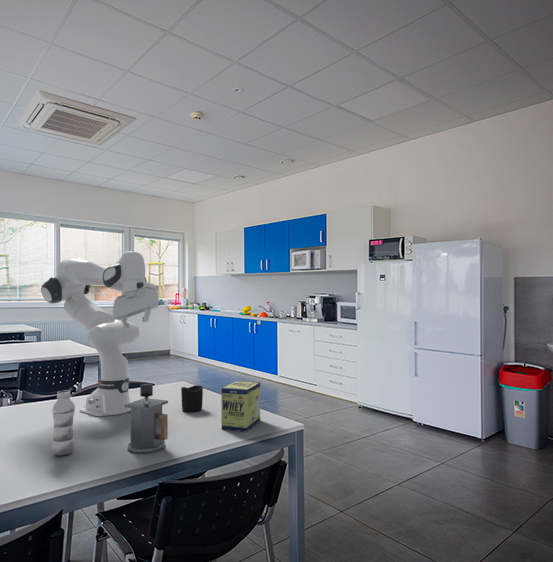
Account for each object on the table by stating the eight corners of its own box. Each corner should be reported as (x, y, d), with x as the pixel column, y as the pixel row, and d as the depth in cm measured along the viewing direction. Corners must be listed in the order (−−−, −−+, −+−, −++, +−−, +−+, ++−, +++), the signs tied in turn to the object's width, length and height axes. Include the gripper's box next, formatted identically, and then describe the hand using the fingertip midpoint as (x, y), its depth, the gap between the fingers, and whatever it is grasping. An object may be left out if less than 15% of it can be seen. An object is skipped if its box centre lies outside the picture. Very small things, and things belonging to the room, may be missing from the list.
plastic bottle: (56, 451, 141) (56, 389, 142) (77, 450, 142) (78, 389, 142) (47, 458, 134) (48, 394, 135) (69, 457, 135) (70, 393, 136)
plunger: (129, 442, 142) (129, 386, 143) (145, 435, 149) (145, 381, 150) (147, 445, 139) (147, 388, 140) (162, 438, 146) (162, 383, 147)
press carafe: (119, 450, 141) (119, 405, 141) (144, 439, 152) (144, 397, 152) (153, 456, 135) (153, 409, 136) (176, 444, 146) (176, 400, 147)
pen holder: (185, 407, 195) (185, 385, 195) (205, 408, 193) (205, 385, 193) (177, 412, 185) (177, 389, 186) (198, 413, 184) (198, 390, 184)
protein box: (220, 429, 162) (220, 388, 163) (237, 418, 177) (237, 380, 178) (246, 432, 159) (246, 390, 160) (260, 420, 174) (260, 381, 174)
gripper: (108, 296, 167) (109, 330, 162) (148, 280, 159) (150, 316, 154) (120, 299, 172) (121, 332, 167) (160, 284, 165) (162, 319, 160)
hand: (136, 324), depth 161 cm, fingers open, 8 cm apart
